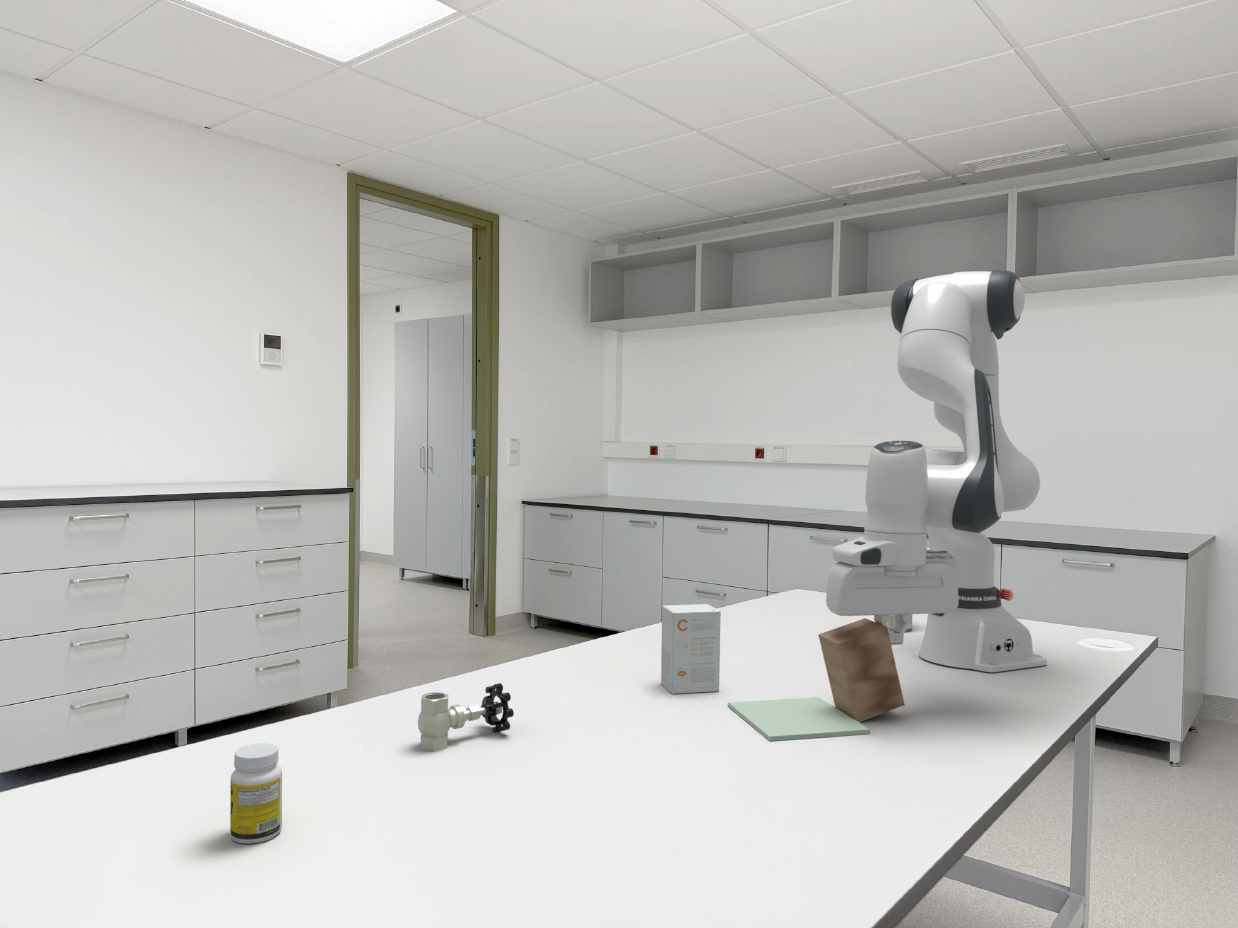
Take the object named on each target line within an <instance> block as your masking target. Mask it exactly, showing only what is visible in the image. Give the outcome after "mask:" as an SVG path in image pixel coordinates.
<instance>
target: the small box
mask: <svg viewBox="0 0 1238 928" xmlns="http://www.w3.org/2000/svg"><path fill="white" fill-rule="evenodd" d="M660 650H661V653H660V654H661V657H660V658H661V659H660V660H661V661H660V663H661V665H660V666H661V667H660V671H661V673H660V677H661V678H660V684H661V686H663V687H664V688H665V689H667V691H668V692H669V693H670V694H672V695H678V694H692V693H708V692H709V693H710V692H719V691H720V673H721V672H720V668H721V667H720V665H721V664H720V663H721V662H720V661H721V611H720V610H719V609H718V608H716V607H714V606H712V605H710V604H708V603H701V604H700V603H698V604H671V605H670V604H669V605H662V606H661V649H660Z"/></svg>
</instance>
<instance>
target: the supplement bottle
mask: <svg viewBox="0 0 1238 928" xmlns="http://www.w3.org/2000/svg"><path fill="white" fill-rule="evenodd" d="M278 763H279V747H278V746H277V745H275V744H272V743H267V742H266V743H265V742H264V743H252V744H248V745H244V746H242V747H239V748H238V749H237V750H236V751H235V752H234V759H233V766H234V770H233V771H232V773H231V775H230V780H229V781H230V782H229V783H230V805H229V806H230V807H229V808H230V809H229V810H230V811H229V813H230V816H229V817H230V818H229V819H230V821H229V822H230V823H229V824H230V825H229V827H230V829H229V830H230V838H231V840H232V841H233V842H235V843H238V844H244V845H245V844H247V845H249V844H250V845H251V844H257V843H258V844H260V843H262V842H263V843H264V842H267V841H269V840H272V839H273V838H275V837H277V835H279V834H280V833H281V831H282V827H283V770H282V767H281V766H280V764H278Z"/></svg>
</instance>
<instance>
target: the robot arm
mask: <svg viewBox="0 0 1238 928" xmlns="http://www.w3.org/2000/svg"><path fill="white" fill-rule="evenodd" d="M1025 299H1026V298H1025V291H1024V288H1023V285H1022V283H1021V280H1020V278H1019V276H1018V275H1017V274H1016V273H1015V272H1014V271H1010V270H1005V269H993V270H991V271H988V270H987V271H985V270H983V271H981V270H979V271H976V270H975V271H957V272H953V273H949V274H948V273H947V274H942V275H936V276H931V277H926V278H921V279H919V278H913V279H910V280H907V281H904V282H902V283H900V285H899V286H898V287H896V289H895V290H894V292H893V294H892V297H891V303H890V317H891V321H892V324H893V327H894V329H895V330H896V331H897V332H898V333H899V334H900V340H899V345H898V352H897V372H898V374H899V377H900V379H901V380H902V382H903V383H904V384H905V386H906V387H907V388H908V389H910V391H912V392H913V393H915V394H916V395H918V396H919V397H922V398H923V399H925V400H929V401H930V402H933V403H934V404H933V414H934V417H935V419H936V420H937V422H938V423H939V424H940V425H941V426H942V427H943V428H944V429H947V430H948V431H951V432H953V433H954V434H956V435H957V436H958V438H959V439H960V440H961V443H962V447H963V451H959V450H958V451H957V450H954V451H953V450H928V451H926V448H925V445H924V444H922V443H920V442H917V441H913V440H912V441H911V440H892V441H891V440H890V441H883V442H879V443H877V444H876V445H874V446H872V448H871V452H870V456H869V460H868V465H867V471H866V473H867V474H866V480H865V481H866V482H865V497H864V499H865V505H866V508H867V517H866V520H865V523H864V531H863V532H864V533H863V536H860V537H857V538H855V539H852V540H850V541H847V542H844V543H842V544H841V543H840V544H838V545H835V546H834V547H833V548H832V559H833V560H834V561H836V562H835V563H833V564H832V566H831V568H830V569H829V572H828V577H827V584H826V593H825V594H826V596H825V599H826V600H825V603H826V607H827V608H828V610H829V612H830V613H832V614H835V615H837V616H841V617H855V616H857V617H858V616H860V617H861V616H873V620H874V622H876V623H879V624H881V625H884V626H886V627H887V628H888V633H889V637H890V642H891V646H892V645H893V646H894V645H895V646H896V645H898V646H899V645H900V646H901V645H903V644H904V639H905V637H904V635H905V633H906V632H905V631H906V630H907V628H908V626H909V625H910V623H911V614H912V615H927V619H926V625H925V632H924V635H923V640H922V643H921V646H920V649H919V651H918V656H919V657H920V658H921V659H924V660H925V661H927V662H931V663H934V664H938V665H941V666H942V665H943V666H946V667H953V668H960V669H970V670H975V671H980V672H986V673H998V672H1005V671H1012V670H1020V669H1026V668H1027V669H1028V668H1035V667H1042V666H1046V665H1047V659H1046V658H1045V657H1044V656H1042V655H1040V654H1038V653H1036V652H1034V650H1033V640H1032V635H1031V632H1030V630H1029V629H1028V627H1027V626H1026V625H1024V624H1023V623H1022V622H1020V620H1018V619H1017V618H1016V617H1014V615H1012V614H1011V613H1010V612H1009V611H1008V610H1006V608H1004V607H1003V606H1002V605H1003V604H1002V601H1001V600H1005V601H1008V602H1009V601H1011V600H1013V599H1014V596H1015V594H1014V592H1013V590H1011V589H1006V588H1004V587H1003V588H1001V589H999V588H998V587H996V586H995V556H996V555H995V554H996V553H995V552H996V549H995V547H994V545H993V543H992V541H991V540H990V539H989V537H987V536H986V535H984V534H983V533H982V532H983V531H985V530H987V529H989V528H991V527H992V526H994V525H995V524H997V522H998V521H1000V519H1001V518H1002V515H1003V513H1007V512H1008V513H1009V512H1017V511H1022V510H1023V511H1024V510H1026V509H1028V508H1029V507H1030V506H1032V504H1033V503H1034V502H1035V500H1036V498H1037V497H1038V495H1039V492H1040V487H1041V477H1040V473H1039V471H1038V469H1037V468H1038V467H1036V465H1035V464H1034V462H1033V461H1032V460H1031V459H1030V458H1029V457H1027V456H1026V455H1025V454H1023V453H1022V452H1021V451H1020V450H1019V449H1018V448H1017V447H1016V446H1015V445H1014V444H1013V442H1012V441H1011V439H1010V438H1009V436H1008V435H1007V433H1006V430H1005V429H1004V426H1003V423H1002V418H1001V412H1000V411H1001V410H1000V397H999V396H1000V395H999V394H1000V390H999V383H1000V381H999V378H1000V377H999V375H1000V374H999V372H1000V371H999V370H1000V369H999V367H1000V366H999V353H998V344H997V340H1001V339H1002V338H1003V337H1004V334H1005V333H1007V332H1009V331H1010V330H1012V329H1013V328H1014V327H1015V326H1016V325H1017V323H1019V321H1020V319H1021V316H1022V313H1023V311H1024V307H1025ZM927 542H928V543H929V550H927V549H928V548H927V546H928V545H927V544H928V543H927ZM890 615H895V619H898V621H897V623H896V625H895V627H894V629H893V631H890V629H889V627H888V625H887V623H886V622H890Z"/></svg>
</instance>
